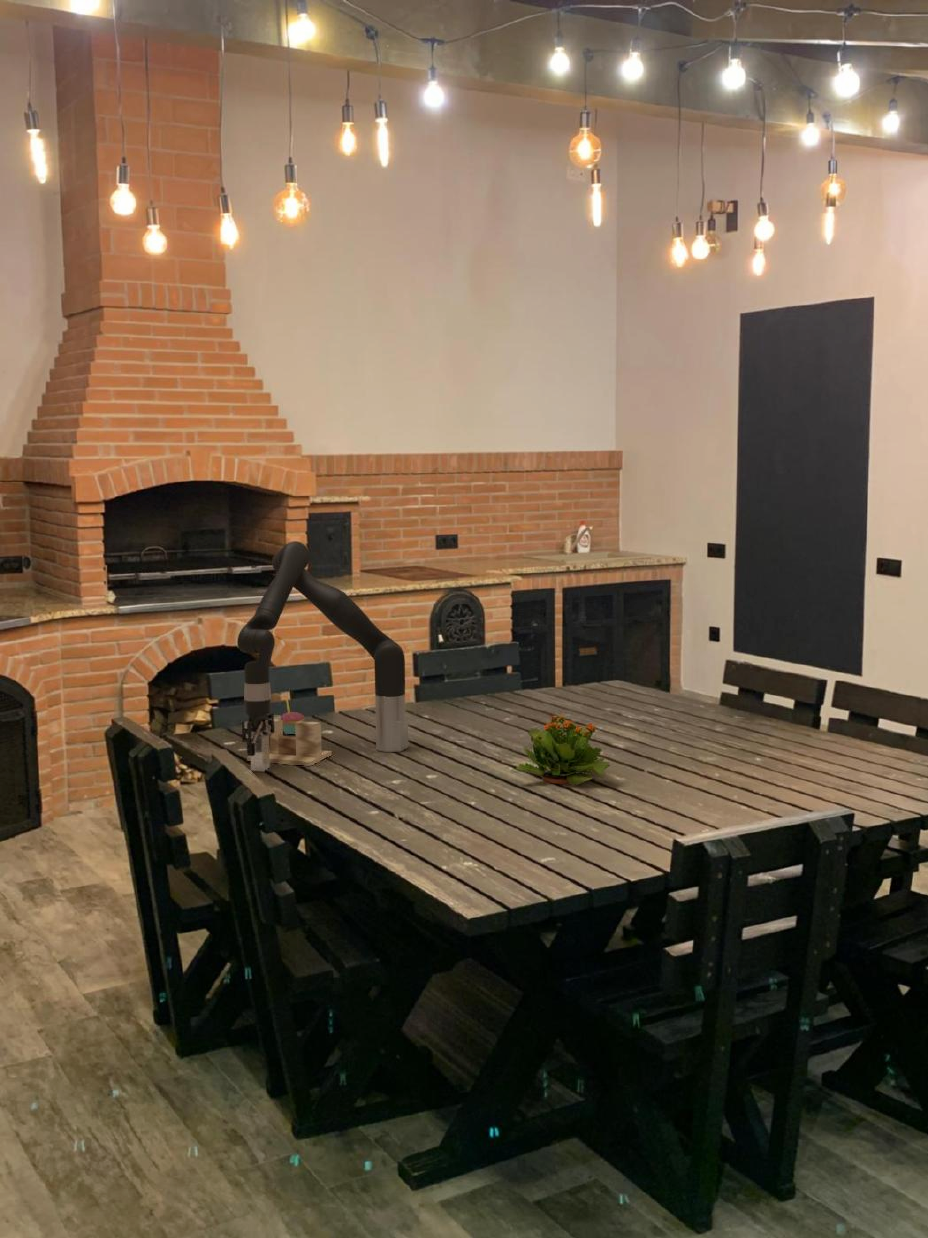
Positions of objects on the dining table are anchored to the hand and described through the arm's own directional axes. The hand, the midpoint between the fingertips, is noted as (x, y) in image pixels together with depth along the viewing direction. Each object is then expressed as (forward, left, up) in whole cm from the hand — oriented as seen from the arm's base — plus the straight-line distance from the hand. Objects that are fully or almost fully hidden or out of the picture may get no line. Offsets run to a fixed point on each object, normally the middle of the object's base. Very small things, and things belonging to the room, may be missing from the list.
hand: (258, 752), depth 359 cm
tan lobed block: (-2, -14, -5) cm, 15 cm away
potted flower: (-85, -16, -5) cm, 87 cm away
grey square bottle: (0, 0, -5) cm, 5 cm away
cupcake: (+14, -45, -5) cm, 47 cm away
